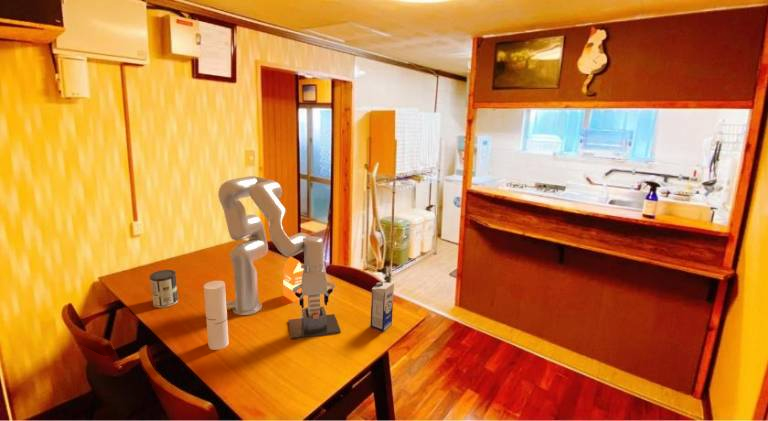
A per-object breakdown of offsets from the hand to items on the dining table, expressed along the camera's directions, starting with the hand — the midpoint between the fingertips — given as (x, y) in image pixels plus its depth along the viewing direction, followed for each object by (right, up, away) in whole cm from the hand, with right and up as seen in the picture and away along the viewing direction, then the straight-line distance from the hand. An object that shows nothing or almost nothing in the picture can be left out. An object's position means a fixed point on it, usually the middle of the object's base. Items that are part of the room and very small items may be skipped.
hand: (314, 305), depth 157 cm
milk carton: (+28, -11, +6) cm, 31 cm away
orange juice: (-15, -3, +29) cm, 32 cm away
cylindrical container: (-35, -12, -12) cm, 39 cm away
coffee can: (-72, -3, +18) cm, 74 cm away
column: (0, -9, +2) cm, 9 cm away
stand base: (0, -10, +3) cm, 10 cm away
